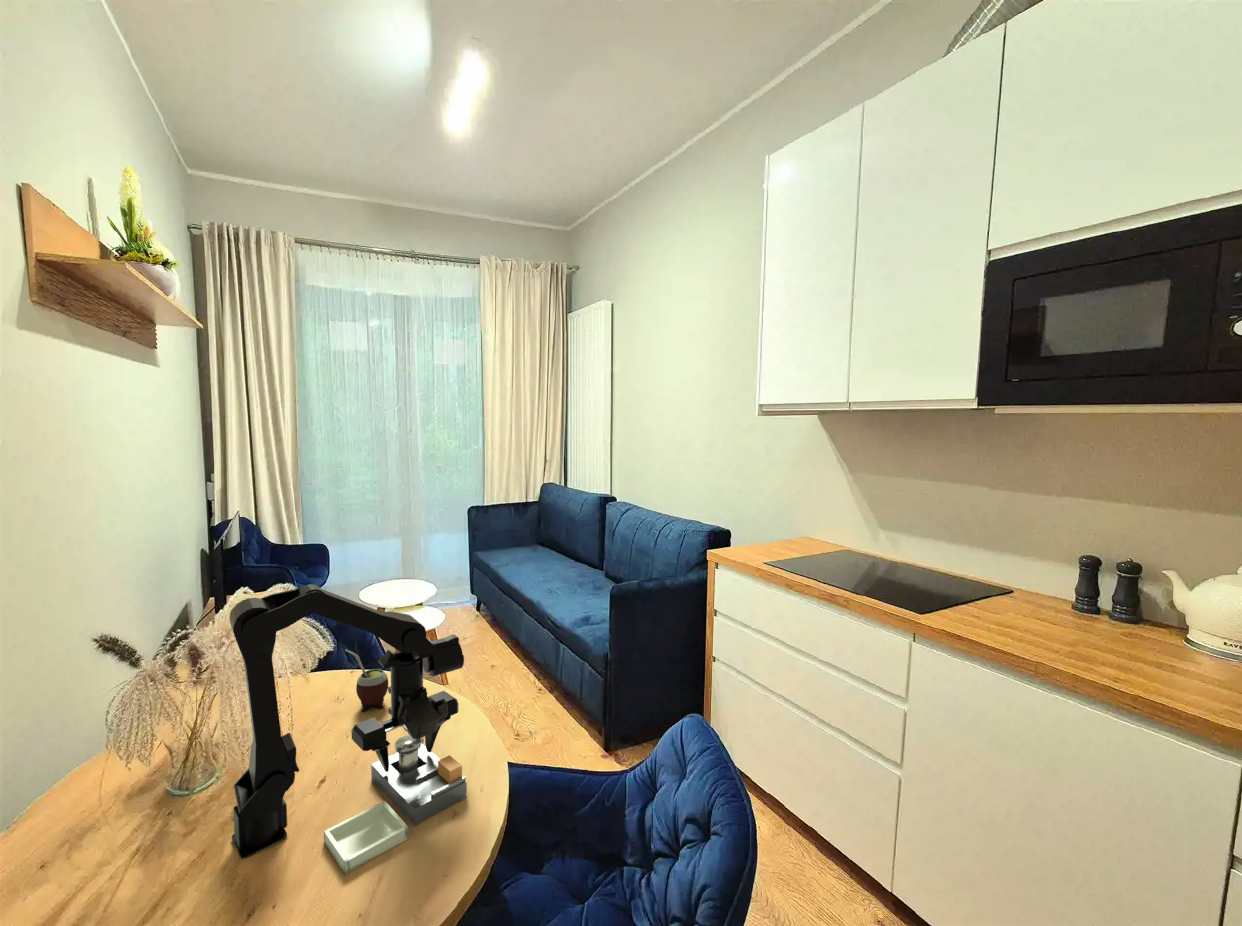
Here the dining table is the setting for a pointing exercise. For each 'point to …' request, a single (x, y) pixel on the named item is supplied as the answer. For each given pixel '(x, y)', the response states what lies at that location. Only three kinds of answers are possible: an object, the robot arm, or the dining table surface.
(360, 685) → the mate gourd
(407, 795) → the metallic box with opening
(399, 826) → the tray
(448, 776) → the block
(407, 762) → the pin
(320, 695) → the dining table surface
